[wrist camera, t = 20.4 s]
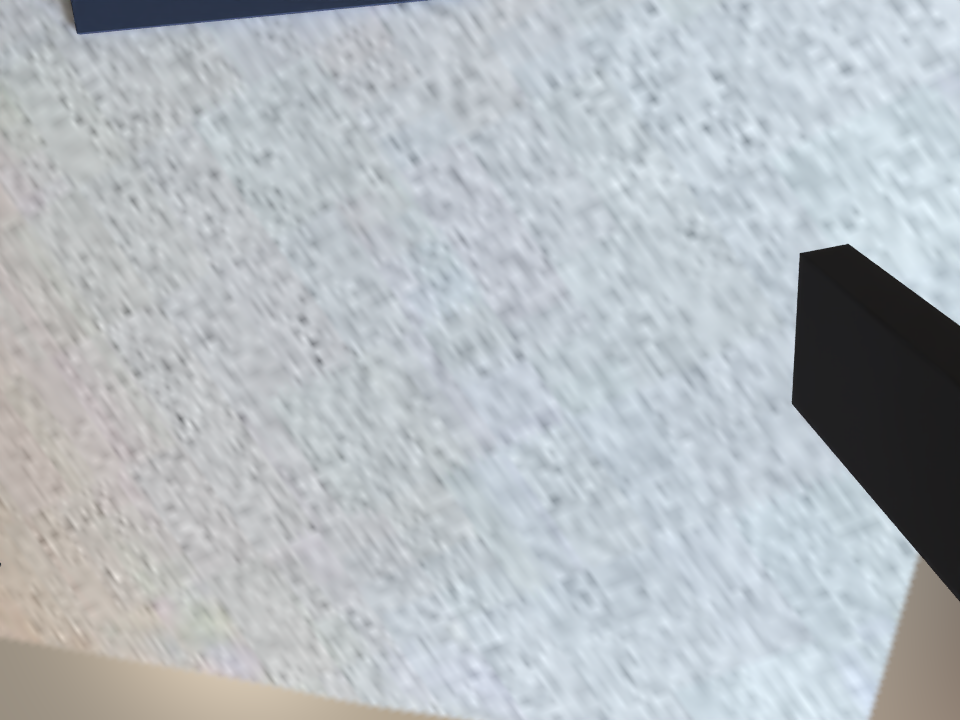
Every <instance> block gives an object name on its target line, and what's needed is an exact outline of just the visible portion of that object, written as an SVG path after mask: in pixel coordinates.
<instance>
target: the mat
mask: <svg viewBox="0 0 960 720" xmlns="http://www.w3.org/2000/svg"><path fill="white" fill-rule="evenodd" d="M416 1H426V0H71V4H72V10H73V15H74V20H75V26H76V31H77V34H89V33H99V32H109V31H119V30H130V29H140V28H150V27H160V26H170V25H181V24H191V23H201V22H211V21H222V20H232V19H242V18H252V17H263V16H273V15H283V14H293V13H303V12H314V11H324V10H334V9H344V8H355V7H365V6H375V5H385V4H395V3H406V2H416Z"/></svg>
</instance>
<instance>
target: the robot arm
mask: <svg viewBox="0 0 960 720" xmlns="http://www.w3.org/2000/svg"><path fill="white" fill-rule="evenodd" d="M792 404H793V406H794V407H795V408H796V409H797V410H798V411H799V413H800V414H801V415H802V416H803V417H804V419H805V420H806V421H807V422H808V423H809V424H810V426H811V427H812V428H813V429H814V430H815V432H816V433H817V434H818V435H819V436H820V437H821V439H822V440H823V441H824V442H825V443H826V444H827V446H828V447H829V448H830V449H831V450H832V452H833V453H834V454H835V455H836V456H837V457H838V459H839V460H840V461H841V462H842V463H843V465H844V466H845V467H846V468H847V469H848V470H849V472H850V473H851V474H852V475H853V476H854V477H855V479H856V480H857V481H858V482H859V483H860V485H861V486H862V487H863V488H864V489H865V490H866V492H867V493H868V494H869V495H870V496H871V498H872V499H873V500H874V501H875V502H876V503H877V505H878V506H879V507H880V508H881V509H882V510H883V512H884V513H885V514H886V515H887V516H888V518H889V519H890V520H891V521H892V522H893V523H894V525H895V526H896V527H897V528H898V529H899V531H900V532H901V533H902V534H903V535H904V536H905V538H906V539H907V540H908V541H909V542H910V543H911V545H912V546H913V547H914V548H915V549H916V551H917V552H918V553H919V554H920V555H921V556H922V558H923V559H924V560H925V561H926V562H927V564H928V565H929V566H930V567H931V568H932V569H933V571H934V572H935V573H936V574H937V575H938V576H939V578H940V579H941V580H942V581H943V582H944V584H945V585H946V586H947V587H948V588H949V589H950V590H951V592H952V593H953V594H954V595H955V596H956V598H957V599H958V600H959V601H960V326H959V325H958V324H957V323H955V322H954V321H952V320H951V319H950V318H948V317H947V316H946V315H944V314H943V313H942V312H940V311H939V310H937V309H936V308H935V307H933V306H932V305H931V304H929V303H928V302H927V301H925V300H924V299H923V298H921V297H920V296H918V295H917V294H916V293H914V292H913V291H912V290H910V289H909V288H908V287H906V286H905V285H903V284H902V283H901V282H899V281H898V280H897V279H895V278H894V277H893V276H891V275H890V274H889V273H887V272H886V271H884V270H883V269H882V268H880V267H879V266H878V265H876V264H875V263H874V262H872V261H871V260H869V259H868V258H867V257H865V256H864V255H863V254H861V253H860V252H859V251H857V250H856V249H855V248H853V247H852V246H850V245H849V244H846V245H841V246H835V247H830V248H825V249H820V250H815V251H810V252H804V253H800V260H799V279H798V298H797V316H796V335H795V354H794V372H793V391H792ZM0 566H1V563H0Z"/></svg>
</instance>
